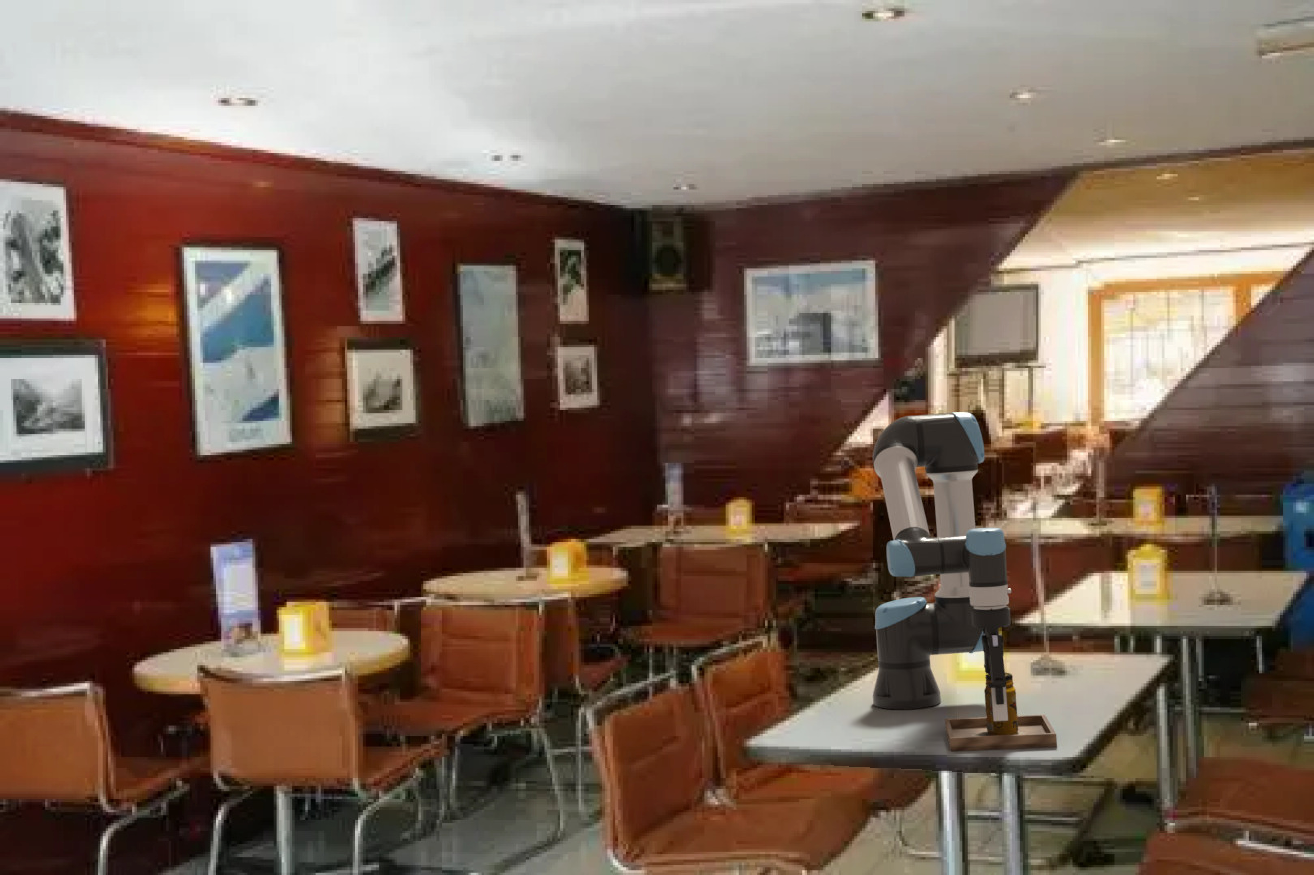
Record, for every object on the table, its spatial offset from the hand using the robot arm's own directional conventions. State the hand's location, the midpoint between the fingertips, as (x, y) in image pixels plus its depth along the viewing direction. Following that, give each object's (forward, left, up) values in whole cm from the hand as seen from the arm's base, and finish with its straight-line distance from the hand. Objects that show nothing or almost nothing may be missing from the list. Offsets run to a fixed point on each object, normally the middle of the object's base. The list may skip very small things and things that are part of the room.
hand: (997, 713), depth 295 cm
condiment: (0, 0, -4) cm, 4 cm away
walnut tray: (0, 0, -5) cm, 5 cm away
